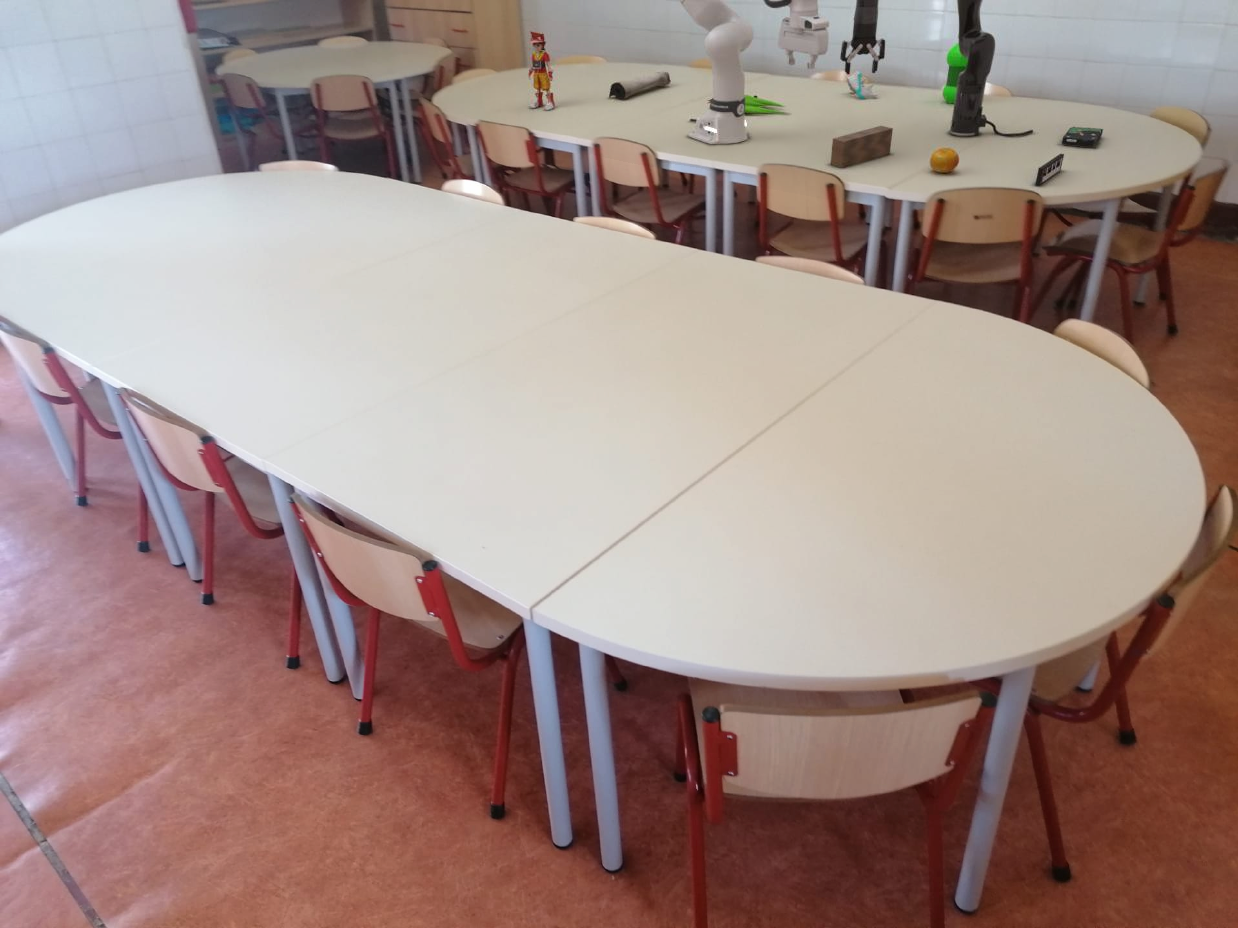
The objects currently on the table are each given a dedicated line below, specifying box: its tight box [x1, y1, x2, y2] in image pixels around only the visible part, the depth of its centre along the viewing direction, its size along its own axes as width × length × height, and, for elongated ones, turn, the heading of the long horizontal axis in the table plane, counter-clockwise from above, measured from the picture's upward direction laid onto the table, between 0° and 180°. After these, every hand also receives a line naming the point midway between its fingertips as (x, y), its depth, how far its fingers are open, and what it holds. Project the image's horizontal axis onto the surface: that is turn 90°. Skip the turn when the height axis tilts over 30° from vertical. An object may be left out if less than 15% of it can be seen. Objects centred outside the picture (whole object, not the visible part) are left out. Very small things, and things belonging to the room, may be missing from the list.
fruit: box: [929, 147, 960, 174], centre depth 283 cm, size 8×8×8 cm
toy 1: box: [527, 31, 556, 111], centre depth 374 cm, size 12×9×30 cm
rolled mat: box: [608, 71, 672, 101], centre depth 395 cm, size 30×9×10 cm
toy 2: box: [744, 94, 786, 114], centre depth 359 cm, size 28×5×30 cm
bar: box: [830, 125, 894, 169], centre depth 298 cm, size 22×5×8 cm, turn 123°
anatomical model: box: [846, 70, 878, 100], centre depth 369 cm, size 15×10×10 cm
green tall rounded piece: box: [942, 34, 968, 104], centre depth 348 cm, size 10×10×25 cm
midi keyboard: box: [1035, 153, 1065, 186], centre depth 273 cm, size 18×1×5 cm, turn 138°
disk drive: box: [1061, 126, 1104, 148], centre depth 303 cm, size 10×3×15 cm
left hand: (800, 66), depth 293 cm, fingers open, 8 cm apart
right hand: (860, 73), depth 303 cm, fingers open, 8 cm apart
